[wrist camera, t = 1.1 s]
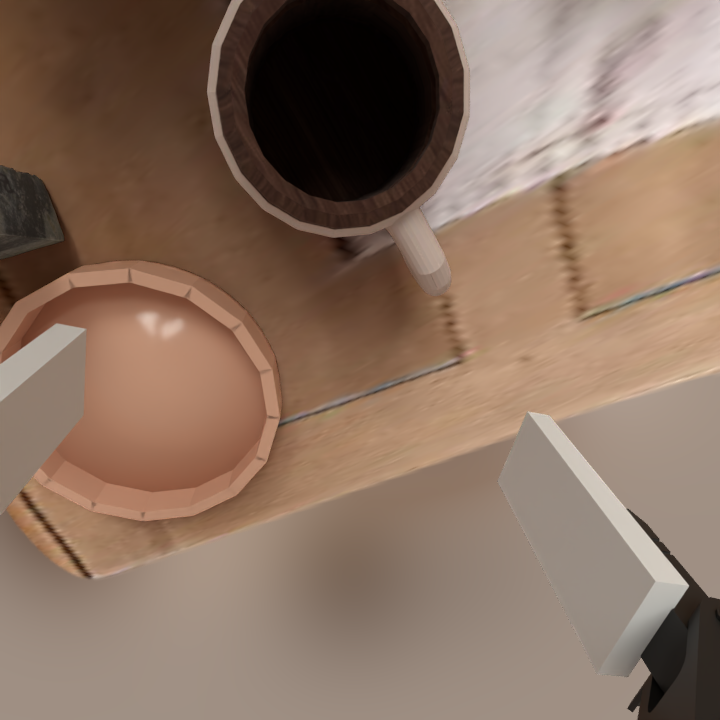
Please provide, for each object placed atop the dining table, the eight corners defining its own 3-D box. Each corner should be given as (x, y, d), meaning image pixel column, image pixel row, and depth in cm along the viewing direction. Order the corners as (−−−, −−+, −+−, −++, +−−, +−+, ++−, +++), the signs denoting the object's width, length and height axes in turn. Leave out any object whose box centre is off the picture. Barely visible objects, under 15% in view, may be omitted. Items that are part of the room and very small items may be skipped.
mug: (181, 76, 34) (89, 30, 21) (369, -62, 32) (408, -218, 18) (337, 311, 42) (347, 393, 28) (500, 211, 40) (597, 247, 26)
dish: (-51, 340, 40) (-83, 357, 37) (184, 208, 38) (172, 214, 34) (123, 528, 49) (109, 555, 45) (325, 431, 46) (326, 452, 43)
